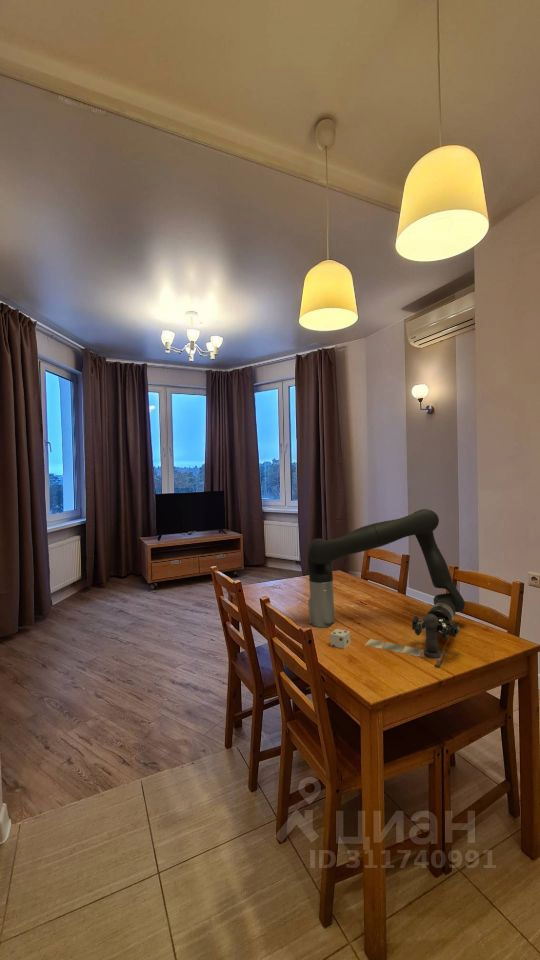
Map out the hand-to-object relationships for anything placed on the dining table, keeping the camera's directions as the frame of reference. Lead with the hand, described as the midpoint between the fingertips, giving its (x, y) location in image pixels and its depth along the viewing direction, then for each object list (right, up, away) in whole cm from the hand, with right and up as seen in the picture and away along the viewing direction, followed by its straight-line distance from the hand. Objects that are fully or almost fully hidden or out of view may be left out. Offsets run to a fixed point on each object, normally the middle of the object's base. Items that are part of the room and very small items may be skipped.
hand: (429, 634), depth 118 cm
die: (-25, -9, +13) cm, 29 cm away
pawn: (+2, -7, +2) cm, 8 cm away
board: (-6, -8, +7) cm, 12 cm away
